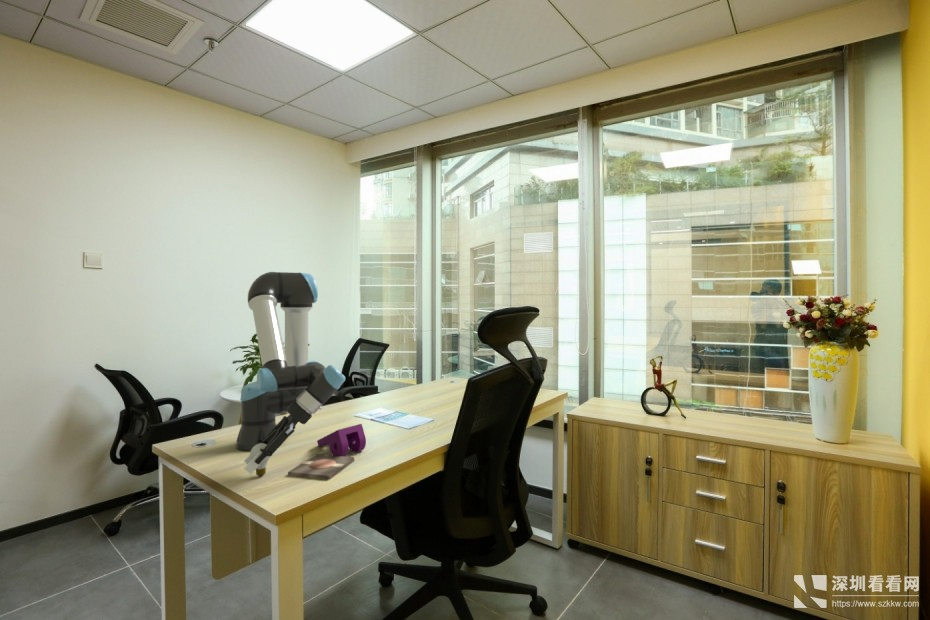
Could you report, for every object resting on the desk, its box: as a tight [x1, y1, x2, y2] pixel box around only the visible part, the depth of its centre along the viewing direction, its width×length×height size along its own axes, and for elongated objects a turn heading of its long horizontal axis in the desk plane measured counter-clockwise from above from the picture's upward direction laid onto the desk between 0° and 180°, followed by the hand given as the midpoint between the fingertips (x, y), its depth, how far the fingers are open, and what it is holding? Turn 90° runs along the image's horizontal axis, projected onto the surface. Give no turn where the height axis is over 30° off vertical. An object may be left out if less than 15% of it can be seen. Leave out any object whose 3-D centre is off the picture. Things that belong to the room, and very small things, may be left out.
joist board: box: [287, 453, 355, 481], centre depth 141 cm, size 14×16×1 cm
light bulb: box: [249, 443, 271, 477], centre depth 134 cm, size 6×6×10 cm
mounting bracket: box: [316, 423, 367, 457], centre depth 158 cm, size 10×9×19 cm
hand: (247, 467), depth 133 cm, fingers closed on light bulb, 6 cm apart
